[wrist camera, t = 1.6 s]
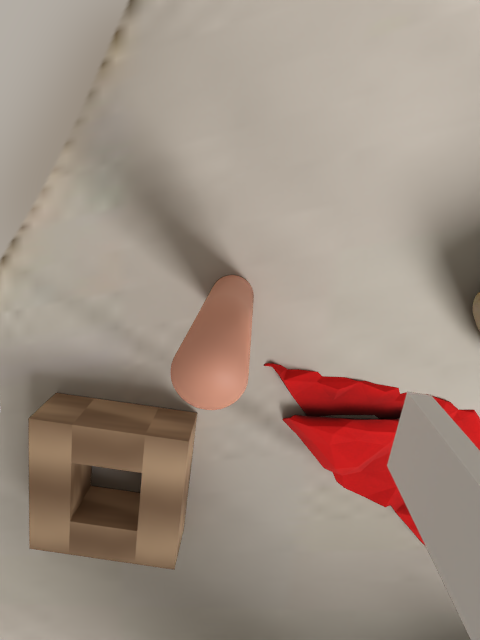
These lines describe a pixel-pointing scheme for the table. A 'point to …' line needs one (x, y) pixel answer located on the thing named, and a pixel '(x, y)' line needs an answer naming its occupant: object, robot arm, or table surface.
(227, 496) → the table surface
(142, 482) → the square frame
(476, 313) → the ceramic mug
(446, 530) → the robot arm
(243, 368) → the dowel
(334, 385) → the cloth
